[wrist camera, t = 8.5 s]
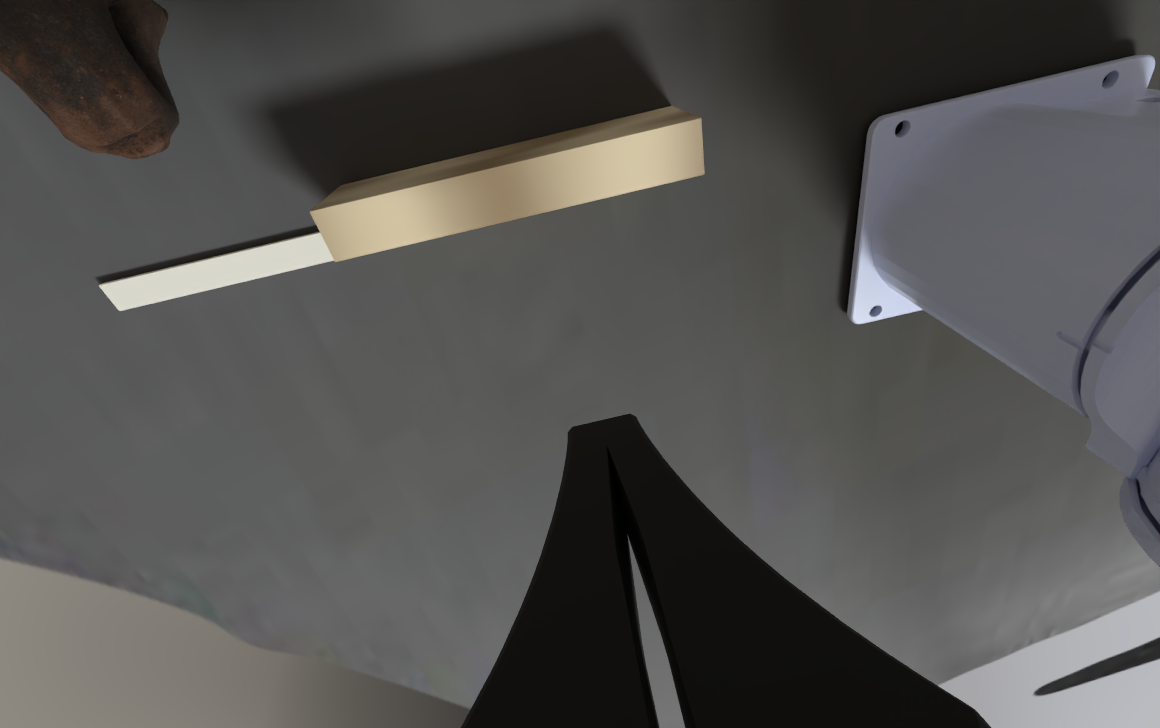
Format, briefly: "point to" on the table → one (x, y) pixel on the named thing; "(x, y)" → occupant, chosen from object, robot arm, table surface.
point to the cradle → (511, 182)
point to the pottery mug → (92, 70)
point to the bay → (217, 271)
